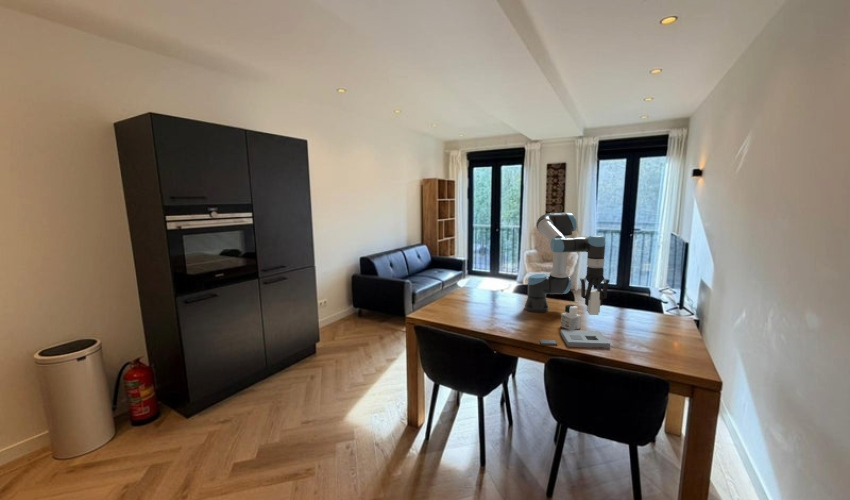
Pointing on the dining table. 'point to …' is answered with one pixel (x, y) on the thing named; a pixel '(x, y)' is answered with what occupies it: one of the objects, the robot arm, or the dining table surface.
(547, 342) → the phone
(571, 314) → the container
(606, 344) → the outlet plate
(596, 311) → the light grey rectangular block
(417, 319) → the dining table surface
